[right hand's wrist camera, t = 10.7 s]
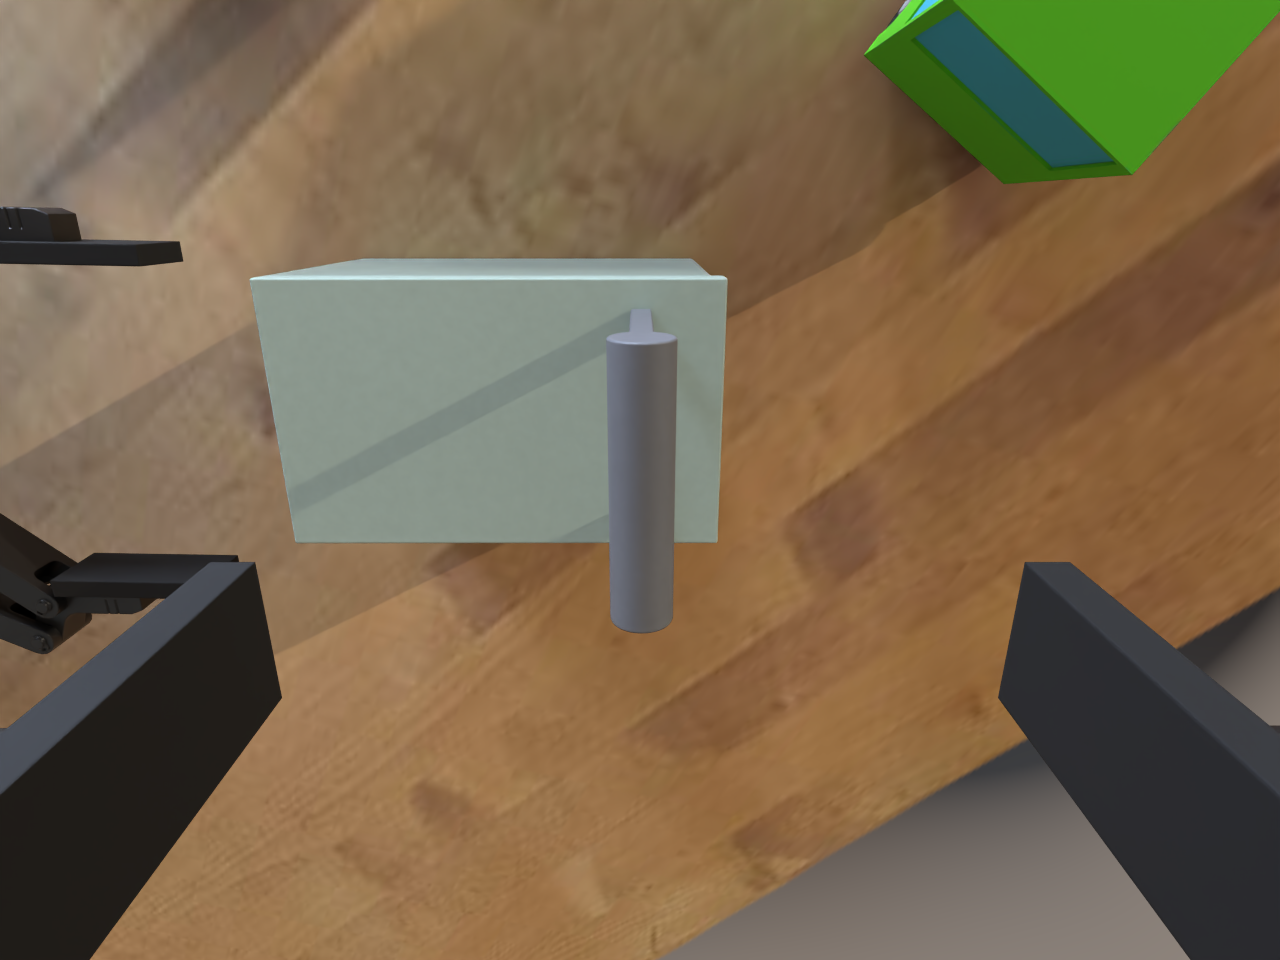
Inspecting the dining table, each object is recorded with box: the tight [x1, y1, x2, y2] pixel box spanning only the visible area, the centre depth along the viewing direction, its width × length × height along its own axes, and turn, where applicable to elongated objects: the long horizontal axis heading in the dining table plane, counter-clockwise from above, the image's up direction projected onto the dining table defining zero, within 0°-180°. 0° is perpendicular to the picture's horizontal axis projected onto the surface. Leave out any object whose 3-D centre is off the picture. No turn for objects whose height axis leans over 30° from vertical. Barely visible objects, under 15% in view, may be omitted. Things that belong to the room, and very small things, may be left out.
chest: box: [267, 259, 710, 276], centre depth 31 cm, size 15×10×9 cm, turn 90°
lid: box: [250, 276, 728, 633], centre depth 23 cm, size 16×10×9 cm, turn 90°
